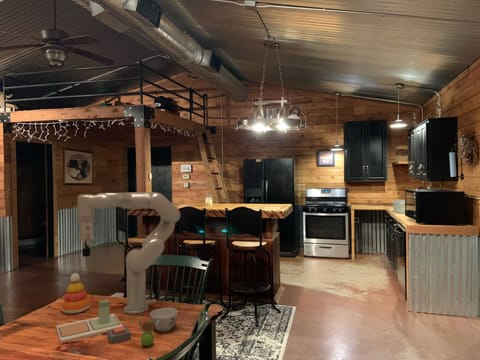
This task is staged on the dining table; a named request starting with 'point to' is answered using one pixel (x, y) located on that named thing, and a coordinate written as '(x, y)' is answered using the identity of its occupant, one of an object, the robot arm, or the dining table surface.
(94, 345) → the dining table surface
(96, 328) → the picture board
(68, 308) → the stacking toy
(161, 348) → the dining table surface
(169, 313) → the teacup
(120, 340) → the button housing
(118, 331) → the button
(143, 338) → the snail figurine
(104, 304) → the sage block
